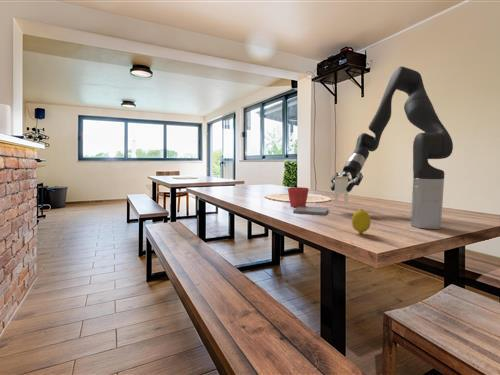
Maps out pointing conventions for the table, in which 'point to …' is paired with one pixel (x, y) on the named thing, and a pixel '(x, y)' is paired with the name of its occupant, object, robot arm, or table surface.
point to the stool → (341, 188)
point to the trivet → (310, 210)
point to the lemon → (361, 221)
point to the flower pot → (298, 196)
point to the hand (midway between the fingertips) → (339, 190)
